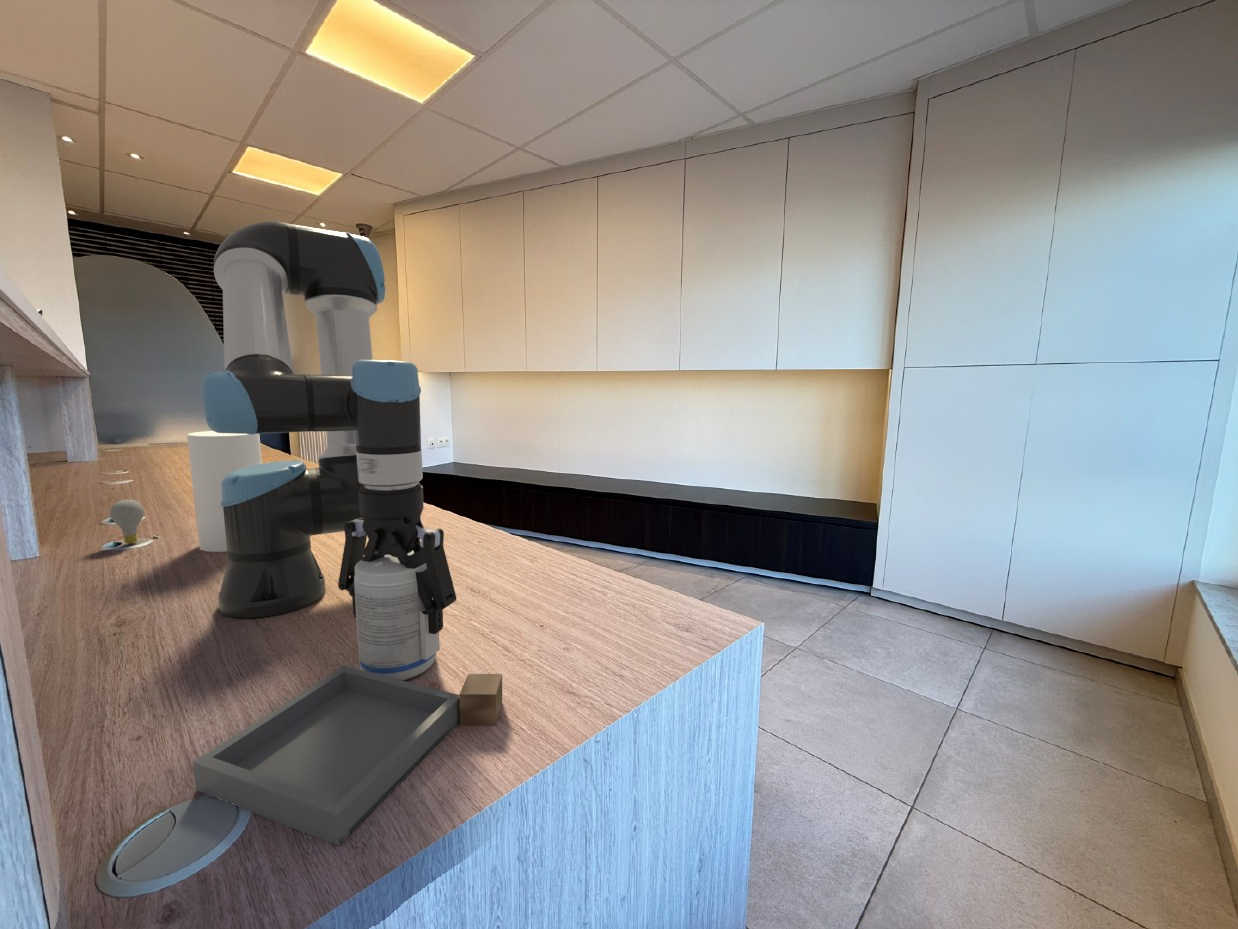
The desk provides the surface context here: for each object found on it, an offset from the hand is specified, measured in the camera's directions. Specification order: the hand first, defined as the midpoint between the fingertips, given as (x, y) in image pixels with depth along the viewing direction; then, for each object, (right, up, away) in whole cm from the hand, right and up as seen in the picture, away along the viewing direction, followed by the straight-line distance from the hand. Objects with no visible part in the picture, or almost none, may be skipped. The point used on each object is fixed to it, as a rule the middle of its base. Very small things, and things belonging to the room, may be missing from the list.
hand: (398, 646), depth 68 cm
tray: (+1, -5, -15) cm, 16 cm away
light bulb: (-78, +7, +44) cm, 90 cm away
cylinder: (-57, +7, +47) cm, 74 cm away
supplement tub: (0, -3, 0) cm, 3 cm away
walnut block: (+14, -5, -9) cm, 17 cm away
